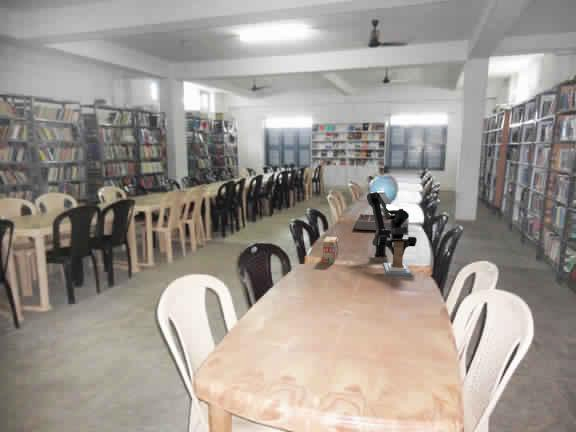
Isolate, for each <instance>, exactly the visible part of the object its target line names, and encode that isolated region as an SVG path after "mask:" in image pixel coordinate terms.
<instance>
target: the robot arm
mask: <svg viewBox="0 0 576 432" xmlns="http://www.w3.org/2000/svg"><path fill="white" fill-rule="evenodd" d="M366 200H367V202H368V205H369V206H370V207H371V209H372V213H373V214H372V215H374V219H375V224H376V229H377V230H375V233H374V238H373V239H372V241H371V242H372V246H374V247H375V252H374V257H376V258H377V257H379V258H380V257H381V258H387V257H388V256H387V253H386V252H387V251H386V250H387V249H386V248H388V250H389V251H390V253H391V255H392V256H393V255H394V250H393V241H401V242H403V256H404V255H405V251H406V249H407V248H409V247H416V244H417V241H418V240H417V237H416V236H408V237H407V238H404V237H405V235H404V234H408V232H407V227H403V228H402V225H403V224H404V223H405V222H406V220H407V219H409V217H410V214H409V212H407V211H406V210H404V208H398V207H396V206H394V205H393V204H392V203H391V201H390V200H389V198H388V196H387V195H386V192H385V191H384V190H381V191H379V190H378V191H374V192H373V191H372V192H370V191H369V192H368V194H366ZM381 207H382V208H383V211H384V212H382V208H381ZM383 213H384V214H383ZM382 215H385V217H386V219H387V220H392V221H391V224H390V226H391V231H389V230H386V229H385V226H384V221H383V216H382Z"/></svg>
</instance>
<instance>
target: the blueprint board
mask: <svg viewBox="0 0 576 432" xmlns="http://www.w3.org/2000/svg"><path fill="white" fill-rule="evenodd" d="M383 267H384V271H385V274H386V275H387V276H401V277H402V276H406V277H407V276H408V277H412V275H413V274H412V272H411V270H410V268H409V266H408V265H407V263H402V268H394V267H393V266H392V262H383Z"/></svg>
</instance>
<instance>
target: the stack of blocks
mask: <svg viewBox="0 0 576 432" xmlns="http://www.w3.org/2000/svg"><path fill="white" fill-rule="evenodd" d="M322 244H323V246H322V251H323V252H322V253H323V254H322V256H323V257H322V263H324V264H325V263H326V264H335V262H336V260H337V257H338V255H339V238H338V237H337V236H325V238H324V240H323V243H322Z"/></svg>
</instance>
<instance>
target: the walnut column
mask: <svg viewBox="0 0 576 432" xmlns="http://www.w3.org/2000/svg"><path fill="white" fill-rule="evenodd" d="M393 250H394V255H392V261H391V263H392V266H393V267H394V268H402V263H403V261H404V255H403V242H401V241H393Z"/></svg>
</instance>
